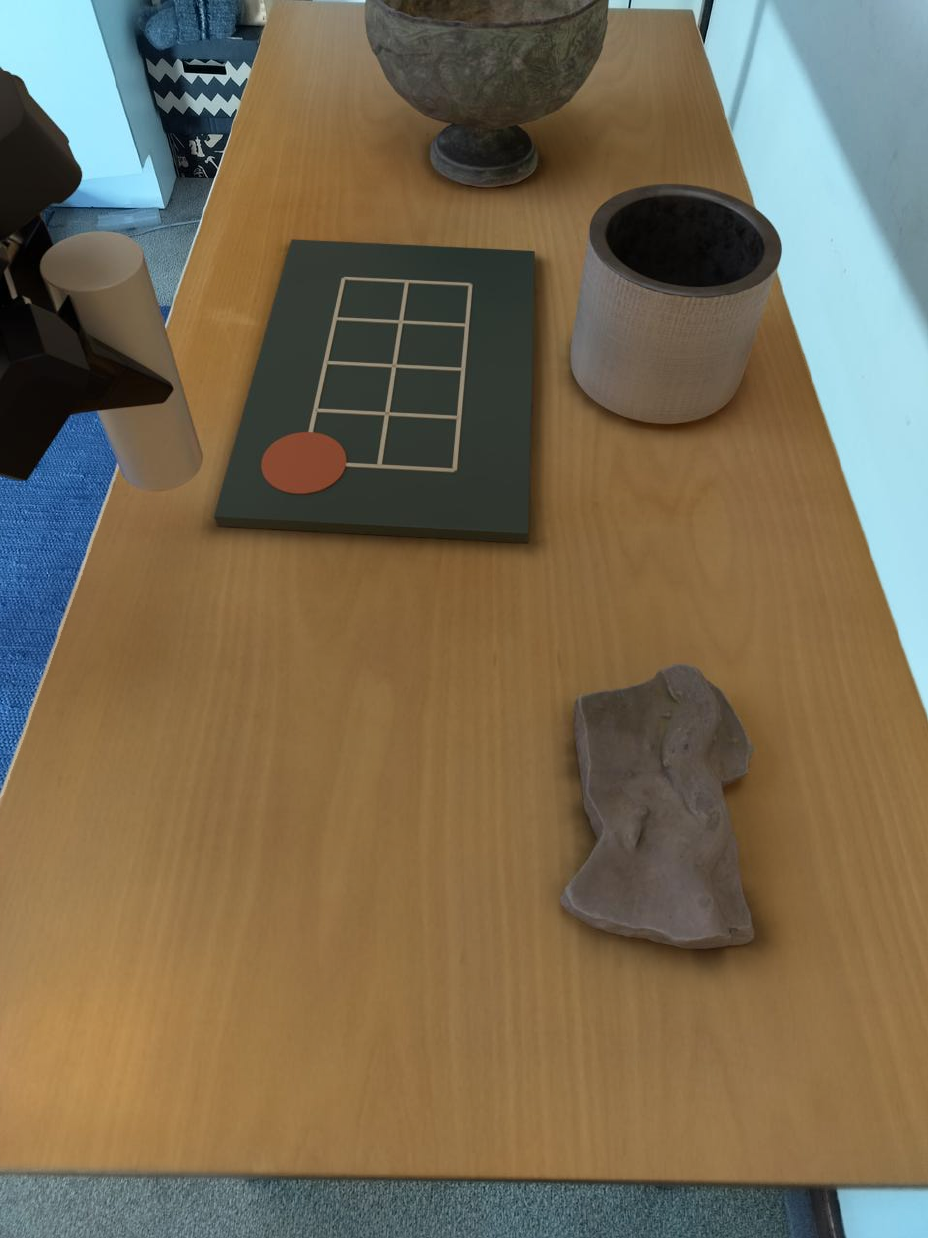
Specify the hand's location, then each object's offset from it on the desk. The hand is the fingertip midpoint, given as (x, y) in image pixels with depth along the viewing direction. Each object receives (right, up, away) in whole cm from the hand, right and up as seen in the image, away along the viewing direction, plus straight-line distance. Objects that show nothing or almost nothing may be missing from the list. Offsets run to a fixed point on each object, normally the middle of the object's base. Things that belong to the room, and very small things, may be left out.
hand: (156, 364), depth 47 cm
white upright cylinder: (-1, -4, +5) cm, 7 cm away
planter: (+30, +5, +21) cm, 37 cm away
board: (+11, +5, +20) cm, 23 cm away
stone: (+26, -24, +1) cm, 35 cm away
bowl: (+18, +30, +37) cm, 51 cm away
